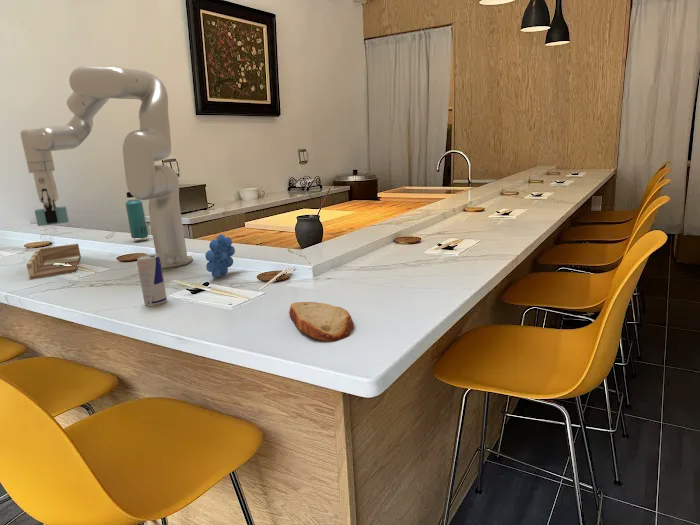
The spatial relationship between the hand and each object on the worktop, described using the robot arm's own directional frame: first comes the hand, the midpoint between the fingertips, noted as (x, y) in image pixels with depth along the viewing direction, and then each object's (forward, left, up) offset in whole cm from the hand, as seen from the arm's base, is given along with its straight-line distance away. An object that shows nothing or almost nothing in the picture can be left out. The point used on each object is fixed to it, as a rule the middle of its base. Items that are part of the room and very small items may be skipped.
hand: (53, 221), depth 175 cm
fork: (-64, -59, -16) cm, 88 cm away
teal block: (0, 0, -1) cm, 1 cm away
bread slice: (-101, -56, -16) cm, 117 cm away
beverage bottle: (+22, -26, -15) cm, 38 cm away
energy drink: (-66, -26, -15) cm, 72 cm away
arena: (-5, +1, -15) cm, 16 cm away
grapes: (-51, -45, -15) cm, 69 cm away
